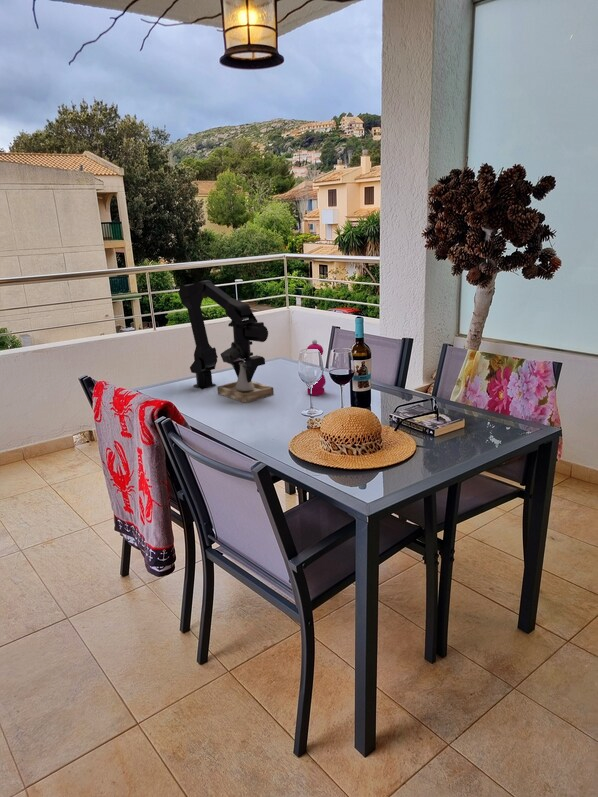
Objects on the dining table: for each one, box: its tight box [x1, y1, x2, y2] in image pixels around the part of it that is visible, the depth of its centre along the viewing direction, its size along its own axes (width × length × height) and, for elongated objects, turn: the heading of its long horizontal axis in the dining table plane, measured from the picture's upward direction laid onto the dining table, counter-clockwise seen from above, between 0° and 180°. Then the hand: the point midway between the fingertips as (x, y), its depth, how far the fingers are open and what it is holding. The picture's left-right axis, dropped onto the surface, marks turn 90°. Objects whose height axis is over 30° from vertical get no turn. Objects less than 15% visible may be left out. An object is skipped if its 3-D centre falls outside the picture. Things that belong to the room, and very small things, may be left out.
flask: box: [235, 361, 254, 391], centre depth 204 cm, size 7×7×10 cm
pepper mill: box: [305, 339, 326, 397], centre depth 202 cm, size 7×7×20 cm
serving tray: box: [216, 380, 275, 404], centre depth 206 cm, size 17×13×3 cm
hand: (244, 380), depth 205 cm, fingers closed on flask, 5 cm apart
